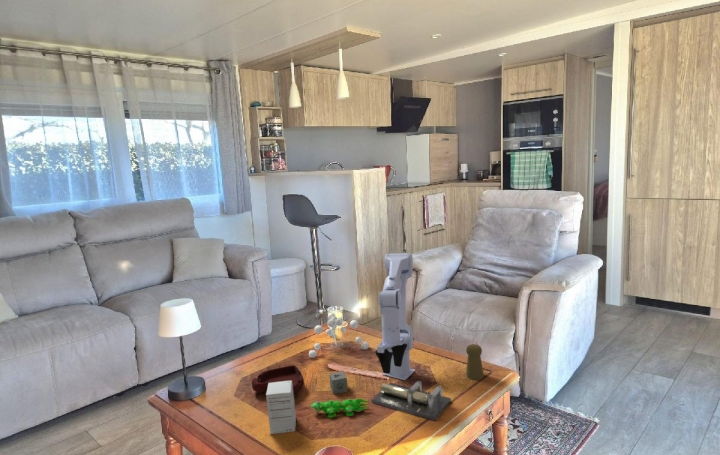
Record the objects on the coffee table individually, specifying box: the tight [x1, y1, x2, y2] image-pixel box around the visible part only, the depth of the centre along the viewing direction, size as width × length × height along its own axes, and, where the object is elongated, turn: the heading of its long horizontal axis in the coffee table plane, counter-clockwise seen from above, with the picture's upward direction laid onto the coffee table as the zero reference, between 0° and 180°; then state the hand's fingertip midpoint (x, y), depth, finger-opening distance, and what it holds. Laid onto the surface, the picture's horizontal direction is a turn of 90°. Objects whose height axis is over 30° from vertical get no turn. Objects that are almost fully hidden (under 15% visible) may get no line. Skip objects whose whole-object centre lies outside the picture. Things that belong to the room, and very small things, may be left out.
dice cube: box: [329, 370, 349, 395], centre depth 155 cm, size 5×5×5 cm
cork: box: [465, 343, 485, 381], centre depth 157 cm, size 6×6×11 cm
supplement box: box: [265, 381, 297, 435], centre depth 135 cm, size 7×7×13 cm
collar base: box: [371, 380, 452, 422], centre depth 144 cm, size 22×12×6 cm, turn 56°
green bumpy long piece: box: [310, 398, 369, 418], centre depth 141 cm, size 7×18×4 cm, turn 91°
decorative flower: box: [308, 312, 370, 359], centre depth 187 cm, size 25×22×14 cm
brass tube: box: [380, 382, 429, 405], centre depth 145 cm, size 16×3×3 cm, turn 56°
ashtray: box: [251, 365, 305, 397], centre depth 159 cm, size 18×16×5 cm
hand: (392, 369), depth 146 cm, fingers open, 7 cm apart
